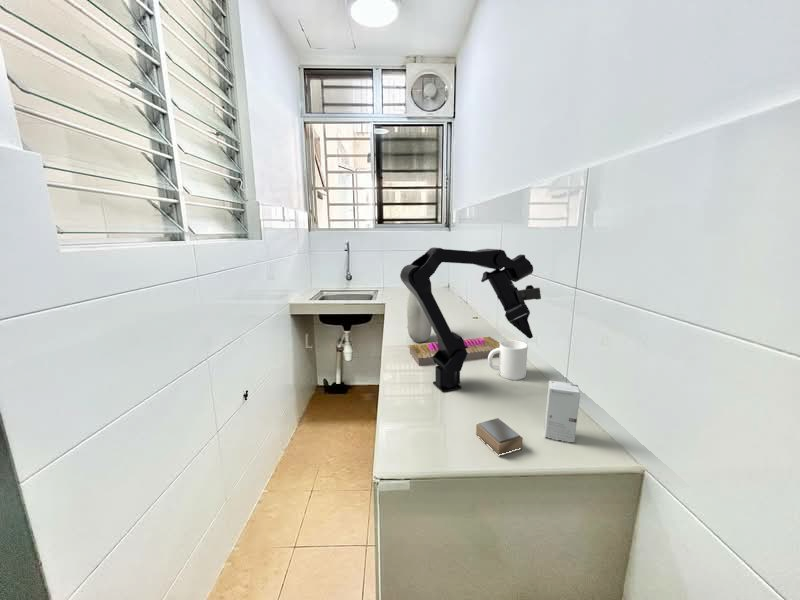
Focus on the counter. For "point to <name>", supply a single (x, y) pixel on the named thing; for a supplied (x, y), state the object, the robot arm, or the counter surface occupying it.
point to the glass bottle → (417, 320)
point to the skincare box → (562, 411)
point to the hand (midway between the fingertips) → (530, 335)
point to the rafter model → (468, 343)
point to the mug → (510, 359)
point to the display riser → (499, 436)
